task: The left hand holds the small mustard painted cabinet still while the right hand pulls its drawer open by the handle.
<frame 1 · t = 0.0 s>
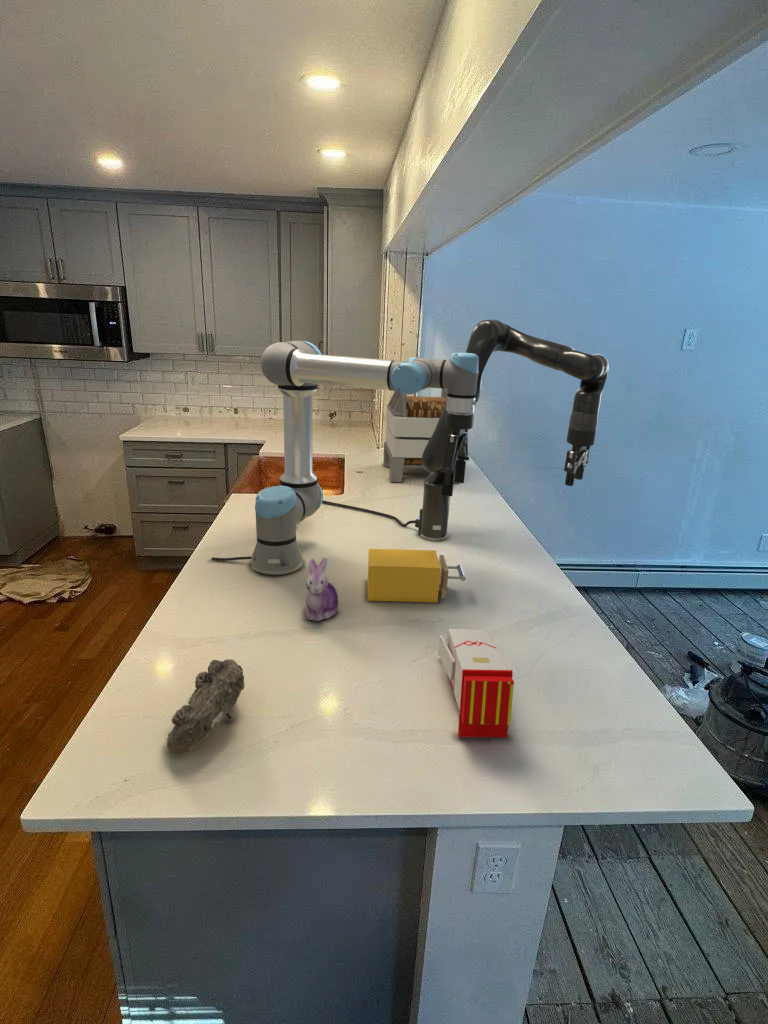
left hand: (453, 488, 159), 28 cm above the counter, tool pointing down, fingers open, 13 cm apart
right hand: (573, 482, 165), 29 cm above the counter, tool pointing down, fingers open, 8 cm apart
drawer: (422, 575, 158), point 5 cm above the counter, slide at 1.1 cm
cabinet: (401, 591, 159), on the counter
fossil: (212, 717, 108), on the counter
grey crate: (419, 473, 275), on the counter
figurine: (321, 613, 146), on the counter
toy: (469, 691, 119), on the counter
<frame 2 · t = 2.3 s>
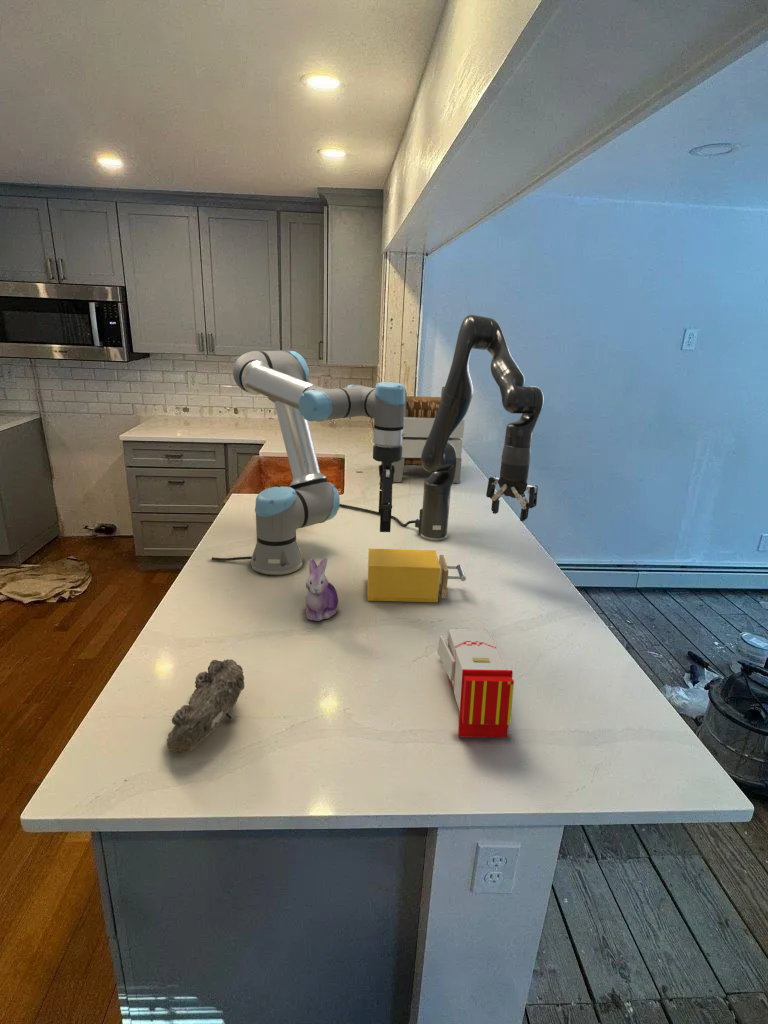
left hand: (384, 522, 152), 21 cm above the counter, tool pointing down, fingers open, 13 cm apart
right hand: (508, 516, 159), 21 cm above the counter, tool pointing down, fingers open, 8 cm apart
nothing on the counter moved.
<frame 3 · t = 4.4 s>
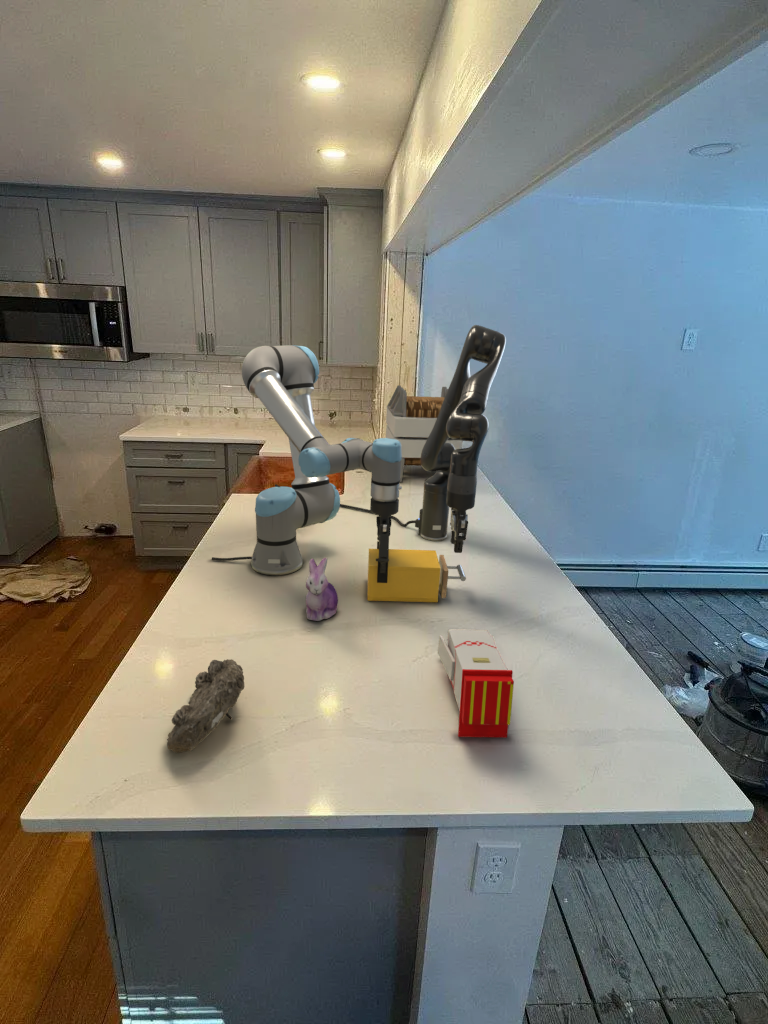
left hand: (381, 572, 157), 6 cm above the counter, tool pointing down, fingers closed on cabinet, 11 cm apart
right hand: (456, 547, 155), 14 cm above the counter, tool pointing down, fingers open, 5 cm apart
cabinet: (401, 591, 159), on the counter, touching left hand
everything else where it was.
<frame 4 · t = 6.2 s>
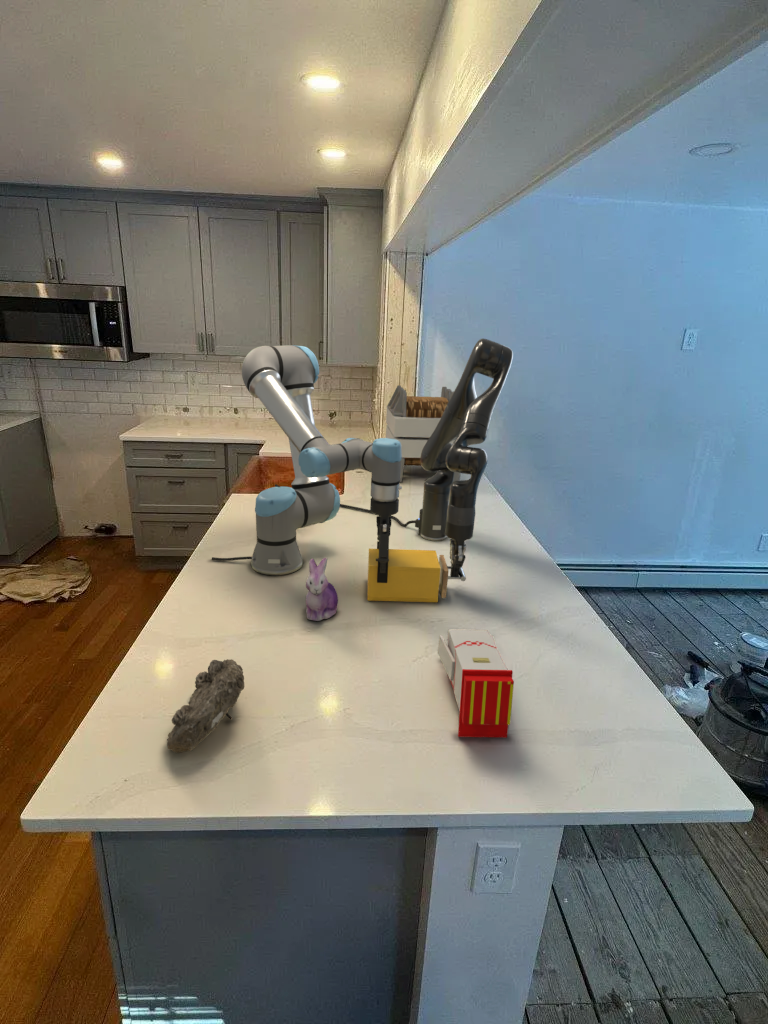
left hand: (381, 572, 157), 6 cm above the counter, tool pointing down, fingers closed on cabinet, 11 cm apart
right hand: (454, 577, 158), 5 cm above the counter, tool pointing down, fingers closed
drawer: (422, 575, 158), point 5 cm above the counter, slide at 1.1 cm, touching right hand
cabinet: (401, 591, 159), on the counter, touching left hand
everything else where it was.
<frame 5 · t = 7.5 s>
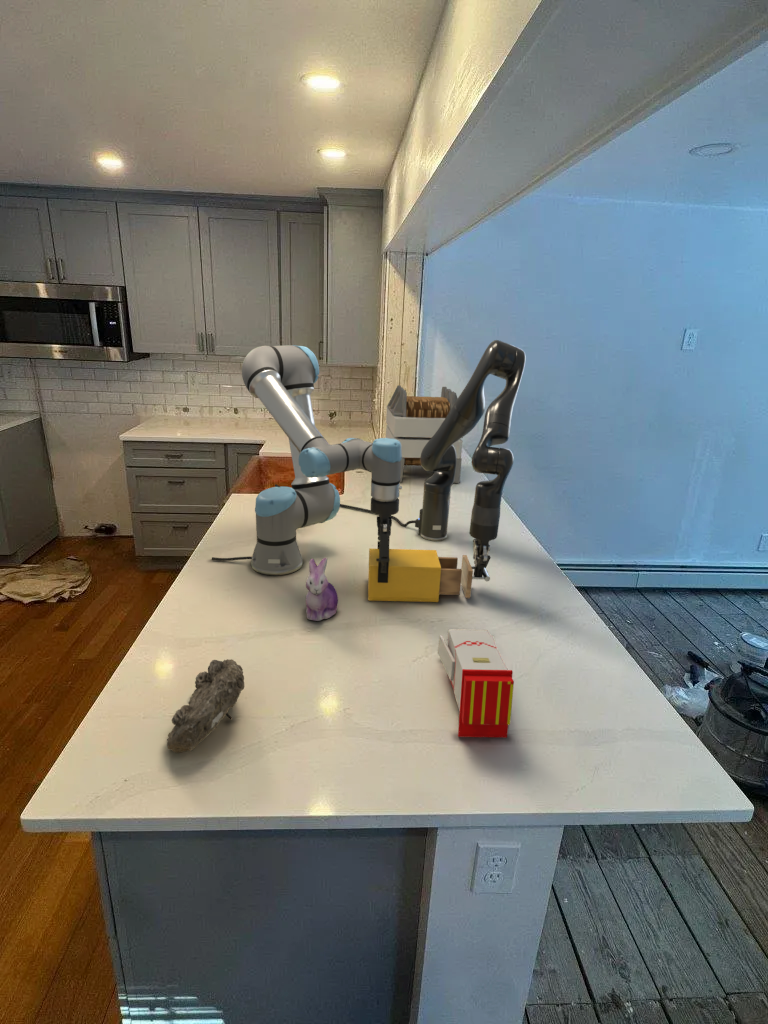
left hand: (382, 572, 157), 6 cm above the counter, tool pointing down, fingers closed on cabinet, 11 cm apart
right hand: (477, 577, 158), 5 cm above the counter, tool pointing down, fingers closed
drawer: (446, 575, 158), point 5 cm above the counter, slide at 7.5 cm, touching right hand
cabinet: (402, 591, 159), on the counter, touching left hand
everything else where it was.
when the left hand's fingers open (6 cm above the counter, at t = 9.2 s): cabinet stays where it is, on the counter.
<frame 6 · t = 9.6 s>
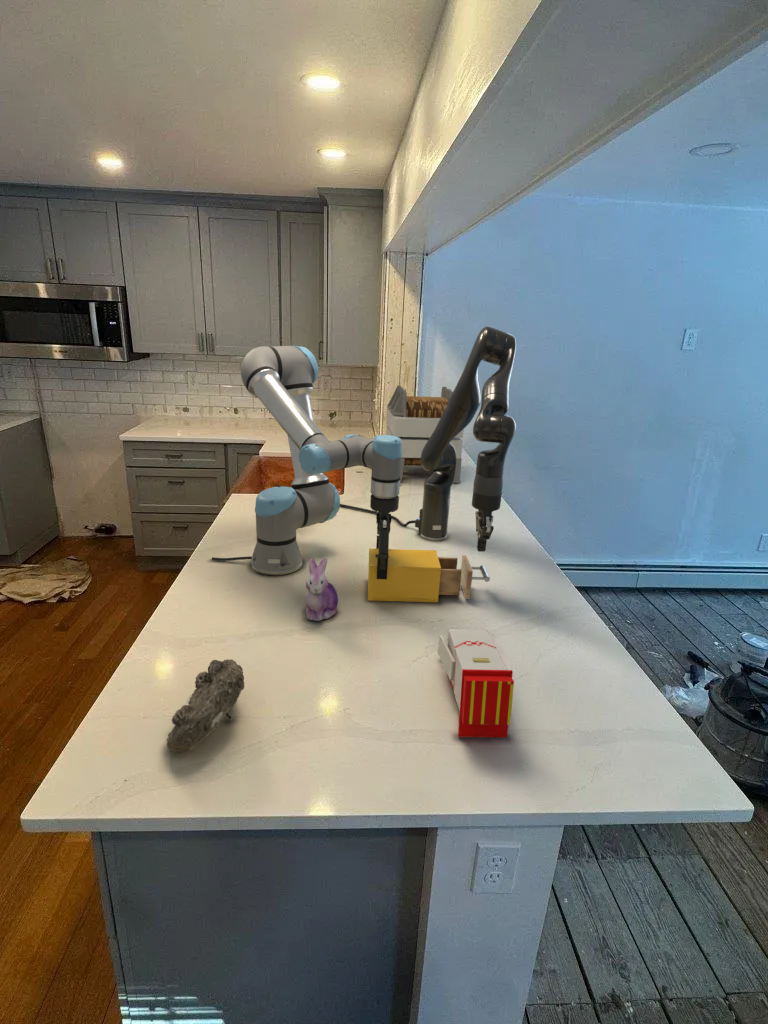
left hand: (381, 567, 157), 7 cm above the counter, tool pointing down, fingers open, 13 cm apart
right hand: (480, 550, 156), 13 cm above the counter, tool pointing down, fingers closed
drawer: (446, 576, 158), point 5 cm above the counter, slide at 7.5 cm
cabinet: (401, 591, 159), on the counter
everything else where it was.
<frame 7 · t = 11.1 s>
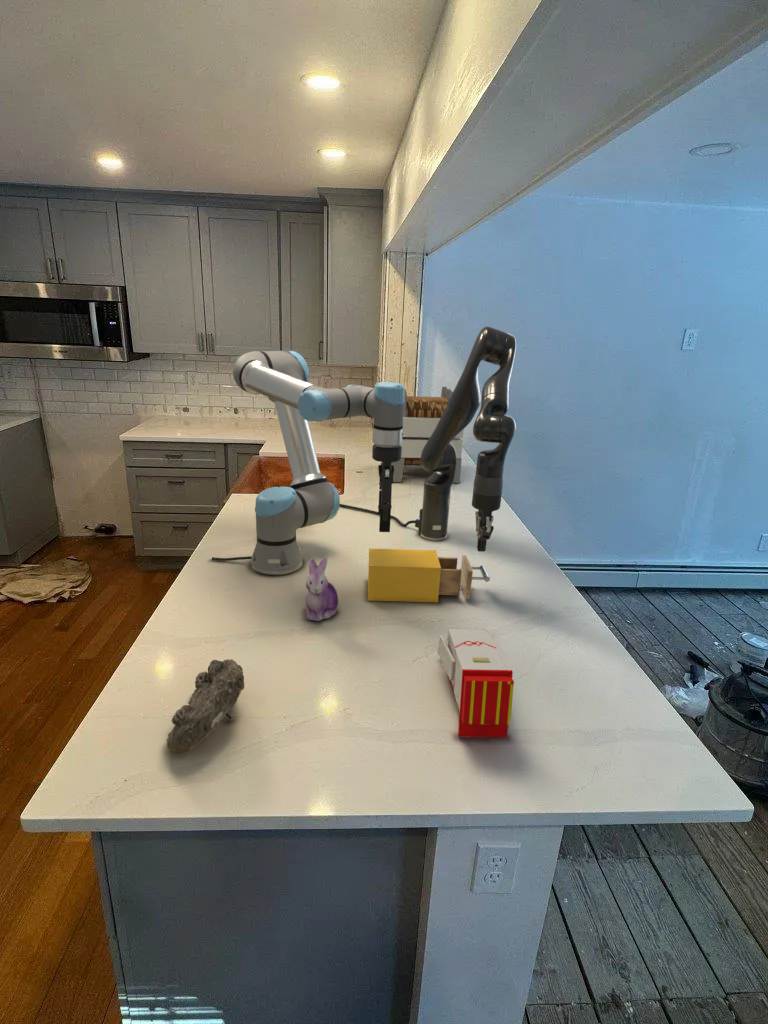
left hand: (383, 522, 152), 21 cm above the counter, tool pointing down, fingers open, 13 cm apart
right hand: (480, 550, 156), 13 cm above the counter, tool pointing down, fingers closed
nothing on the counter moved.
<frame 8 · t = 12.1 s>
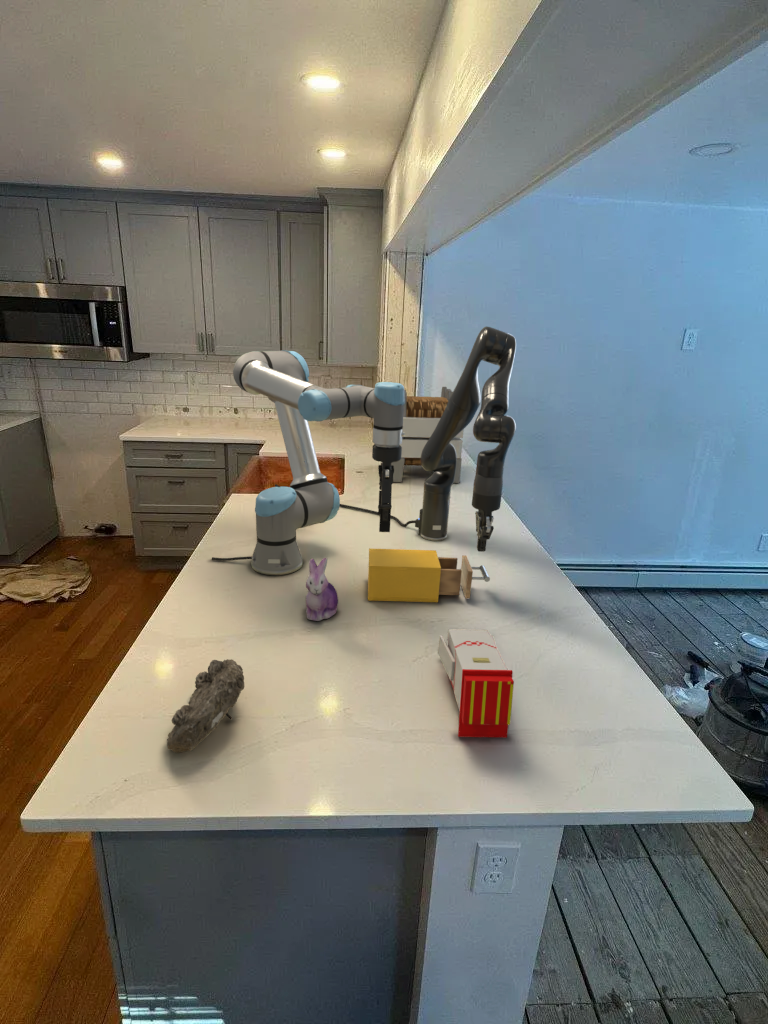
left hand: (383, 522, 152), 21 cm above the counter, tool pointing down, fingers open, 13 cm apart
right hand: (480, 550, 156), 13 cm above the counter, tool pointing down, fingers closed
nothing on the counter moved.
at the end: drawer slide at 7.5 cm; cabinet tilted 0°; cabinet never tilted more than 1° during the clip; cabinet moved 0.1 cm from its start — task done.
